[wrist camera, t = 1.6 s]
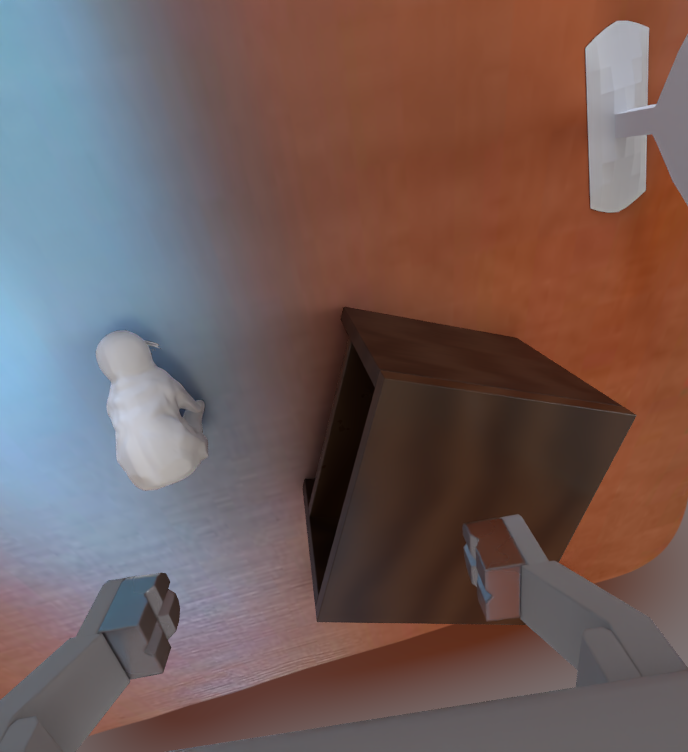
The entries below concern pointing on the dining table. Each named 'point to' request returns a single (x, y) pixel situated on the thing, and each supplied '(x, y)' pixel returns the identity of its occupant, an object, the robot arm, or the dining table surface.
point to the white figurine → (150, 414)
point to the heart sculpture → (632, 116)
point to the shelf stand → (444, 465)
